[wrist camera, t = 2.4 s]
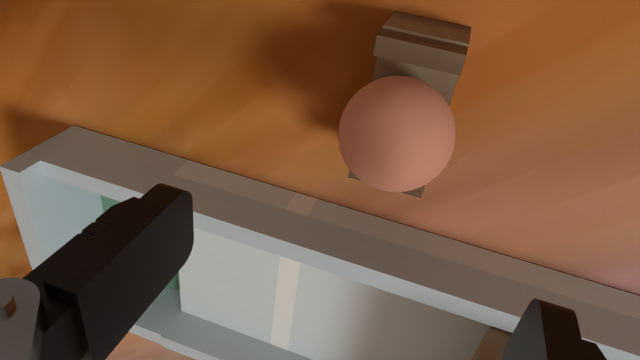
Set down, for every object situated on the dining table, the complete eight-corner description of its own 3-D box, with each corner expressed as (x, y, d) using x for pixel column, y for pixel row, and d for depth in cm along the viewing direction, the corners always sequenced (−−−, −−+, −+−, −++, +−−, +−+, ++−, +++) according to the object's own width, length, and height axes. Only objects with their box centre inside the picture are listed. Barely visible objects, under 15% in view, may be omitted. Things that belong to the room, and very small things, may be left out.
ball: (364, 49, 17) (333, 86, 13) (474, 75, 16) (469, 121, 13) (346, 143, 19) (316, 195, 16) (441, 169, 18) (430, 229, 15)
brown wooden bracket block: (394, 11, 18) (377, 31, 15) (471, 27, 17) (467, 52, 15) (366, 142, 21) (347, 179, 19) (429, 159, 21) (420, 199, 18)
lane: (73, 125, 27) (-98, 219, 19) (665, 303, 21) (769, 546, 13) (102, 269, 33) (-16, 382, 26) (555, 435, 27) (580, 647, 20)
